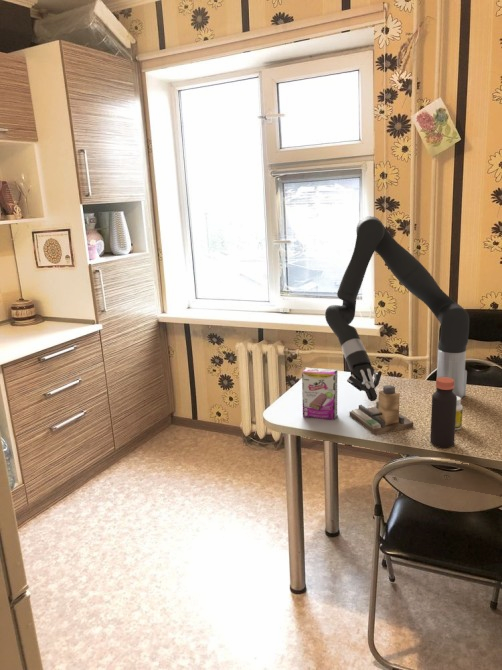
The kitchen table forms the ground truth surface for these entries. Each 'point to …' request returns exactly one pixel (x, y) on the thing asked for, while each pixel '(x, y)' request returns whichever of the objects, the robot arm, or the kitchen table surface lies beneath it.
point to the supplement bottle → (458, 414)
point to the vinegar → (443, 413)
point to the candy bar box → (319, 393)
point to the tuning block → (388, 405)
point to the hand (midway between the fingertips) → (374, 400)
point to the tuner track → (378, 420)
